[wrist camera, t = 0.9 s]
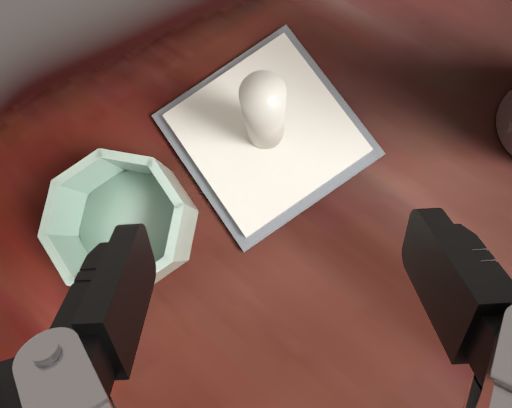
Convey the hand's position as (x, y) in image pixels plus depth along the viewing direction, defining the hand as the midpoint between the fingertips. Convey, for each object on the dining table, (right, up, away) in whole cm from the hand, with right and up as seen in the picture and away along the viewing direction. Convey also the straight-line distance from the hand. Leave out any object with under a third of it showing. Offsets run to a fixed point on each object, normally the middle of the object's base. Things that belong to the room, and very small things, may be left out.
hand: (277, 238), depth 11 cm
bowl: (-13, -1, +26) cm, 29 cm away
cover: (0, +8, +26) cm, 27 cm away
